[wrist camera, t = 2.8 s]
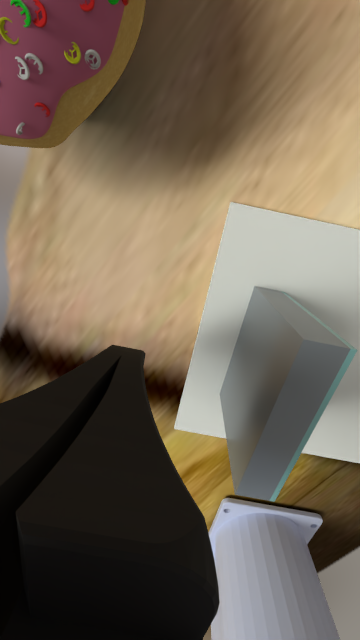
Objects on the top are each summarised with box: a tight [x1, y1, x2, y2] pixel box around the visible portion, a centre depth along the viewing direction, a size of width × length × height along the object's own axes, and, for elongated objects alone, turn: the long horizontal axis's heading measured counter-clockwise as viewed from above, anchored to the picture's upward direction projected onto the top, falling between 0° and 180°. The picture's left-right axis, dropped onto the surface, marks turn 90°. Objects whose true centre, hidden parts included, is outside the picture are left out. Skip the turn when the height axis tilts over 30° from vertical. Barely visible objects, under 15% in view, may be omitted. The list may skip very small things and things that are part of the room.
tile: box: [220, 286, 357, 502], centre depth 11 cm, size 2×7×6 cm, turn 169°
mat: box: [174, 202, 360, 463], centre depth 14 cm, size 14×14×1 cm
